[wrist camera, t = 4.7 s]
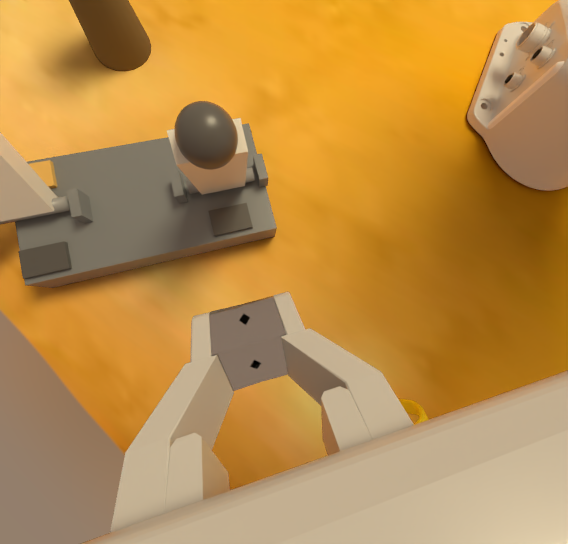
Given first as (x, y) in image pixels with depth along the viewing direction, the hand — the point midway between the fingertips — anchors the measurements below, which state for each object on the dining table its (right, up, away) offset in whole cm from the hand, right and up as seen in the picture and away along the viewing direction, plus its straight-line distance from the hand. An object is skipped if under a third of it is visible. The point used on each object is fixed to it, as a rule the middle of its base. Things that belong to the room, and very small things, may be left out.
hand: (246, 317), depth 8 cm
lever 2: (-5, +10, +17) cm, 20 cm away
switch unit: (-12, +8, +19) cm, 24 cm away
